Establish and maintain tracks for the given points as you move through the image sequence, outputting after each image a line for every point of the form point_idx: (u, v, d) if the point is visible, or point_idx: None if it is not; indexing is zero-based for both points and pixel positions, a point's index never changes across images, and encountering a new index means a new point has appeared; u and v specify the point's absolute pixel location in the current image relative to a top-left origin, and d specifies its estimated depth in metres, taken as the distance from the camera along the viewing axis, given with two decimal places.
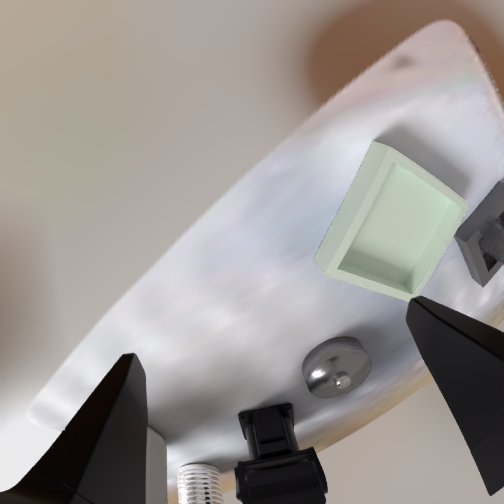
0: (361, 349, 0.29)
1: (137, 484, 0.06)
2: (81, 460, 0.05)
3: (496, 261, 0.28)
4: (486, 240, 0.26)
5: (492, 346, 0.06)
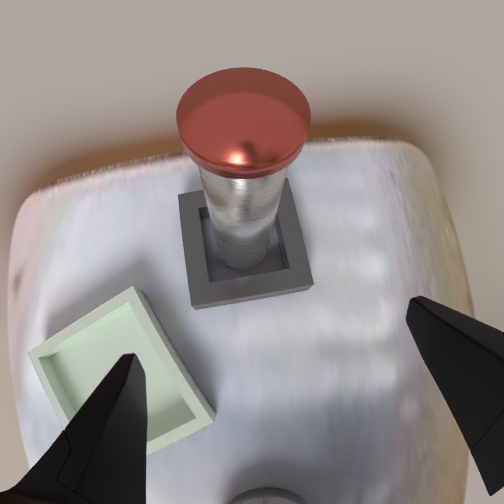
0: (251, 499, 0.17)
1: (137, 484, 0.06)
2: (81, 460, 0.05)
3: (284, 246, 0.23)
4: (228, 260, 0.22)
5: (492, 346, 0.06)
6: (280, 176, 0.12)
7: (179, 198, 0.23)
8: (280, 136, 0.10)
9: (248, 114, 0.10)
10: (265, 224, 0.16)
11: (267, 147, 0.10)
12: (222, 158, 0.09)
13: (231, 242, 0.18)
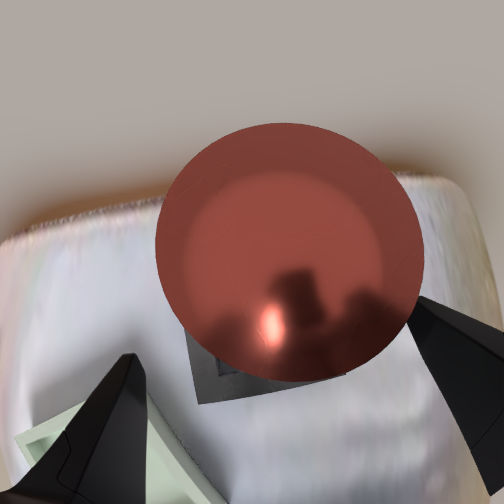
0: None
1: (137, 484, 0.06)
2: (81, 460, 0.05)
3: None
4: None
5: (492, 346, 0.06)
6: None
7: None
8: (375, 307, 0.05)
9: (310, 251, 0.05)
10: None
11: (352, 339, 0.05)
12: (262, 372, 0.04)
13: None
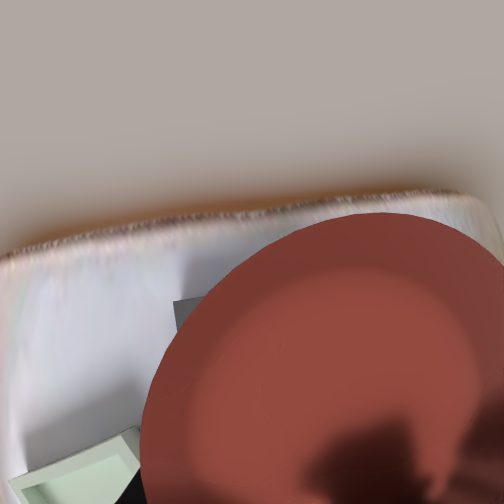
0: None
1: None
2: None
3: None
4: None
5: None
6: None
7: (175, 308, 0.15)
8: None
9: (414, 476, 0.02)
10: None
11: None
12: None
13: None
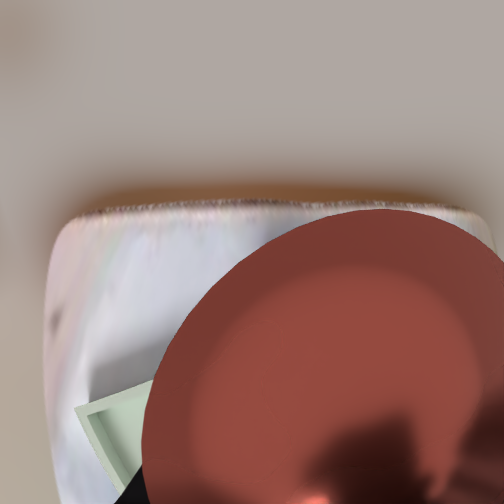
0: None
1: None
2: None
3: None
4: None
5: None
6: None
7: None
8: None
9: (417, 473, 0.02)
10: None
11: None
12: None
13: None
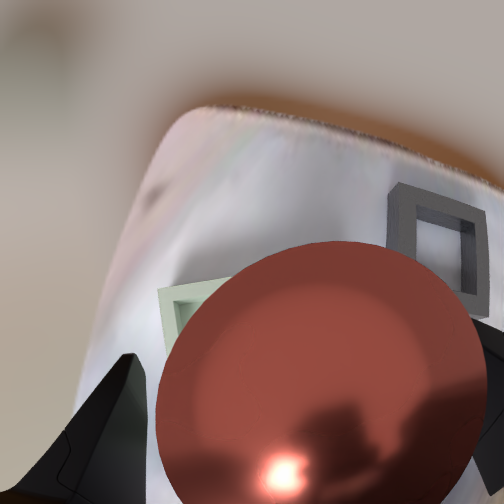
0: None
1: (137, 484, 0.06)
2: (81, 460, 0.05)
3: (475, 272, 0.19)
4: None
5: (492, 346, 0.06)
6: None
7: (399, 186, 0.20)
8: (423, 485, 0.03)
9: (360, 442, 0.03)
10: None
11: None
12: None
13: None
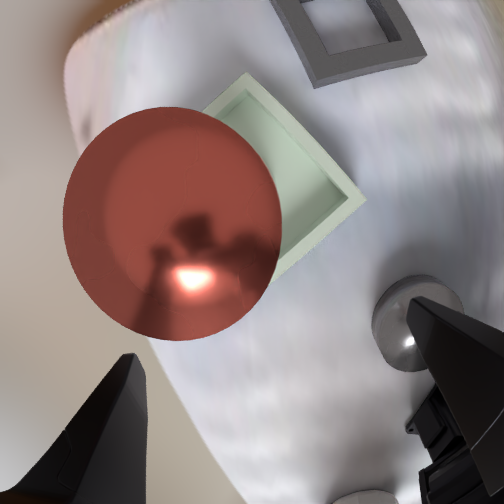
0: (406, 288, 0.20)
1: (137, 484, 0.06)
2: (81, 460, 0.05)
3: (390, 20, 0.15)
4: None
5: (492, 346, 0.06)
6: None
7: None
8: (245, 251, 0.06)
9: (172, 238, 0.06)
10: None
11: (240, 285, 0.06)
12: (195, 335, 0.06)
13: None
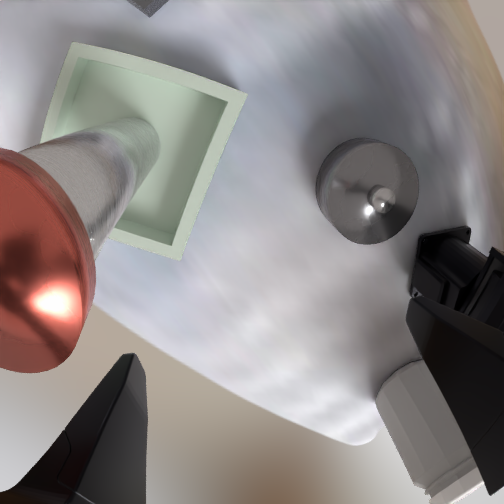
0: (336, 162, 0.19)
1: (137, 484, 0.06)
2: (81, 460, 0.05)
3: None
4: None
5: (492, 346, 0.06)
6: (89, 198, 0.06)
7: None
8: (39, 264, 0.04)
9: None
10: (132, 172, 0.10)
11: (57, 296, 0.04)
12: (63, 355, 0.05)
13: None
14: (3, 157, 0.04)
